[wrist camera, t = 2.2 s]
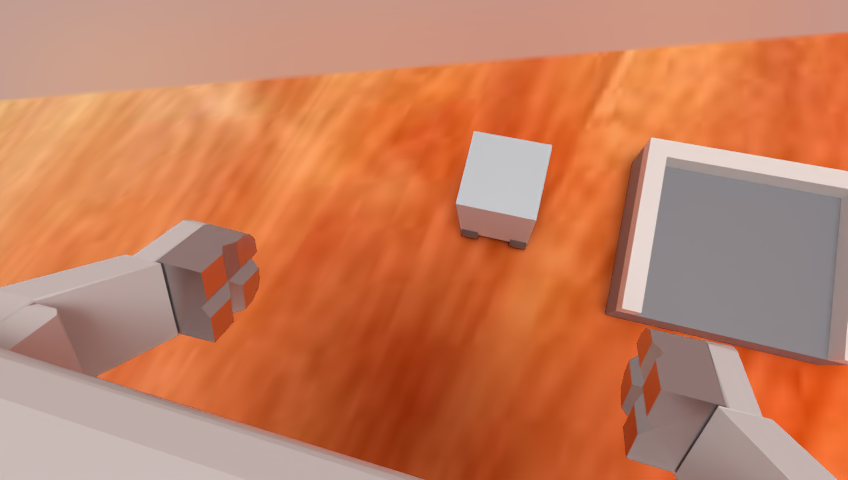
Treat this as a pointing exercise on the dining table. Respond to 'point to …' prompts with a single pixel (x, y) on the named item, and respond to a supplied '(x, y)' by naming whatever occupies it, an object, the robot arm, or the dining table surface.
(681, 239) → the dock
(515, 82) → the dining table surface
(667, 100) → the dining table surface
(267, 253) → the dining table surface
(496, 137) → the white footed cube
